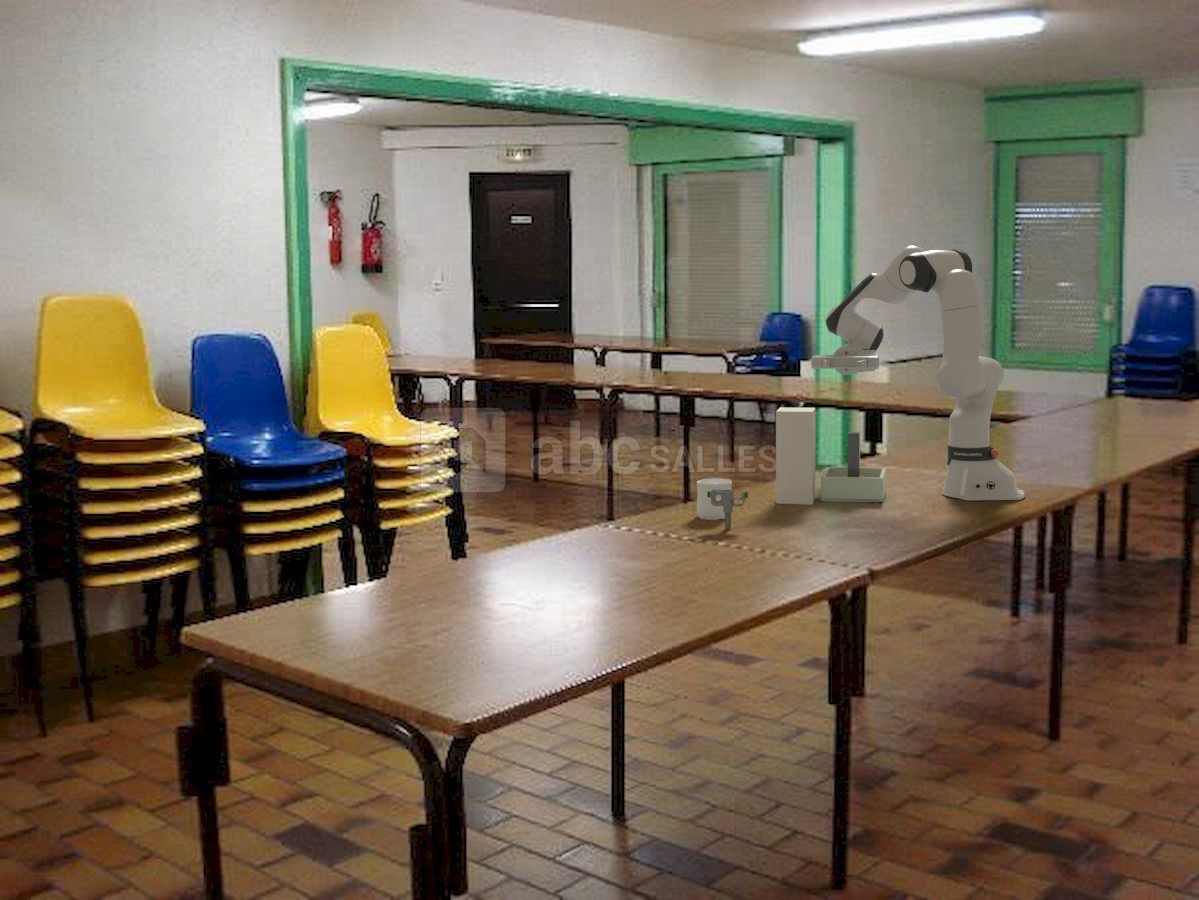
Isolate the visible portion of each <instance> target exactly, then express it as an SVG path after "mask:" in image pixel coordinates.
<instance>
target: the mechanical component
mask: <svg viewBox="0 0 1199 900" xmlns="http://www.w3.org/2000/svg"><path fill="white" fill-rule="evenodd" d="M717 495H720V496H721V499H717V498H716V496H717ZM707 497H710V498H711V504H712V505H713V506H723V512H725V519H724V528H725V530H726V529H730V530H731V529H732V515H731V512H732V513H733V512H734V509H733V507H742V506H744V504H745V502H746V499H749V491H745V490H742V491H741V493H740V495H739V496H736V494H735V493H734V490H733V489H731V490H711V491H708V492H707ZM734 500H739V501H742V502H735V501H734Z"/></svg>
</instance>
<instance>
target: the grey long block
mask: <svg viewBox="0 0 1199 900" xmlns="http://www.w3.org/2000/svg"><path fill="white" fill-rule="evenodd" d="M847 467H848V475H844V476H843V477H864V475H860V468H861V431H848V432H847Z"/></svg>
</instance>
